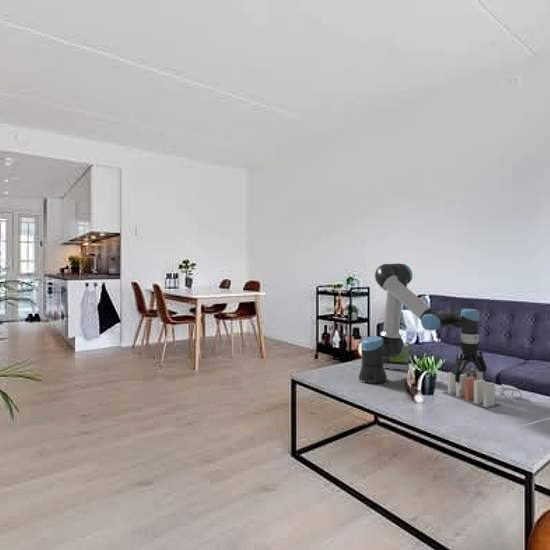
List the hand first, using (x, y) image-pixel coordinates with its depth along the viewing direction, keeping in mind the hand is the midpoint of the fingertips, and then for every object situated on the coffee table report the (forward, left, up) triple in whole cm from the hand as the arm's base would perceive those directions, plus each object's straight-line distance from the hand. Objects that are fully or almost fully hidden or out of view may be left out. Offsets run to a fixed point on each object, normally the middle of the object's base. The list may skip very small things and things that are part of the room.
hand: (469, 387), depth 189 cm
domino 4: (+5, 0, -5) cm, 8 cm away
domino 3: (0, 0, -5) cm, 6 cm away
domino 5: (+10, 0, -5) cm, 12 cm away
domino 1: (-10, 0, -5) cm, 11 cm away
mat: (0, 0, -6) cm, 6 cm away
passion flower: (-16, +19, -6) cm, 25 cm away
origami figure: (+7, +19, -6) cm, 21 cm away
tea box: (-60, +7, -6) cm, 60 cm away
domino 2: (-5, 0, -5) cm, 7 cm away
